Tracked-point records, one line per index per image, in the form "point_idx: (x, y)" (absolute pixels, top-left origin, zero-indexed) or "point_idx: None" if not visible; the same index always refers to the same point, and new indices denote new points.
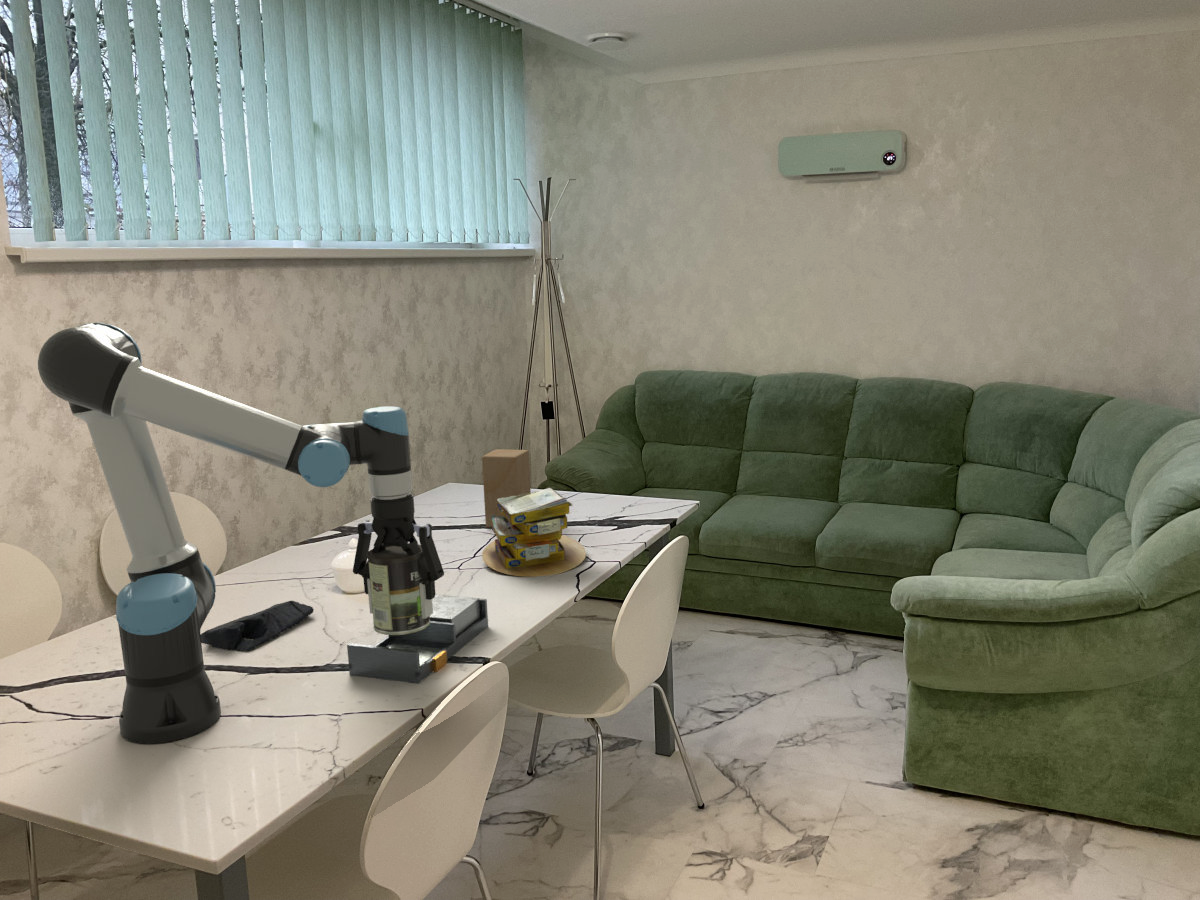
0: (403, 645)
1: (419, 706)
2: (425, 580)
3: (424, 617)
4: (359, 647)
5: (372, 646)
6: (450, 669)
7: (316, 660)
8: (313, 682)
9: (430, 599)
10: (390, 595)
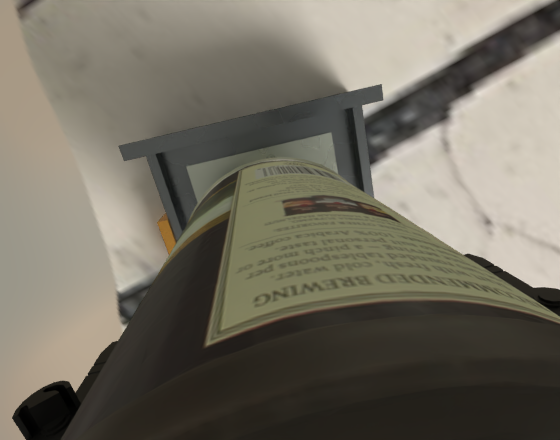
0: None
1: (32, 25)
2: (52, 418)
3: None
4: (333, 96)
5: (291, 115)
6: (150, 239)
7: (487, 121)
8: (406, 5)
9: (114, 342)
10: (226, 209)
